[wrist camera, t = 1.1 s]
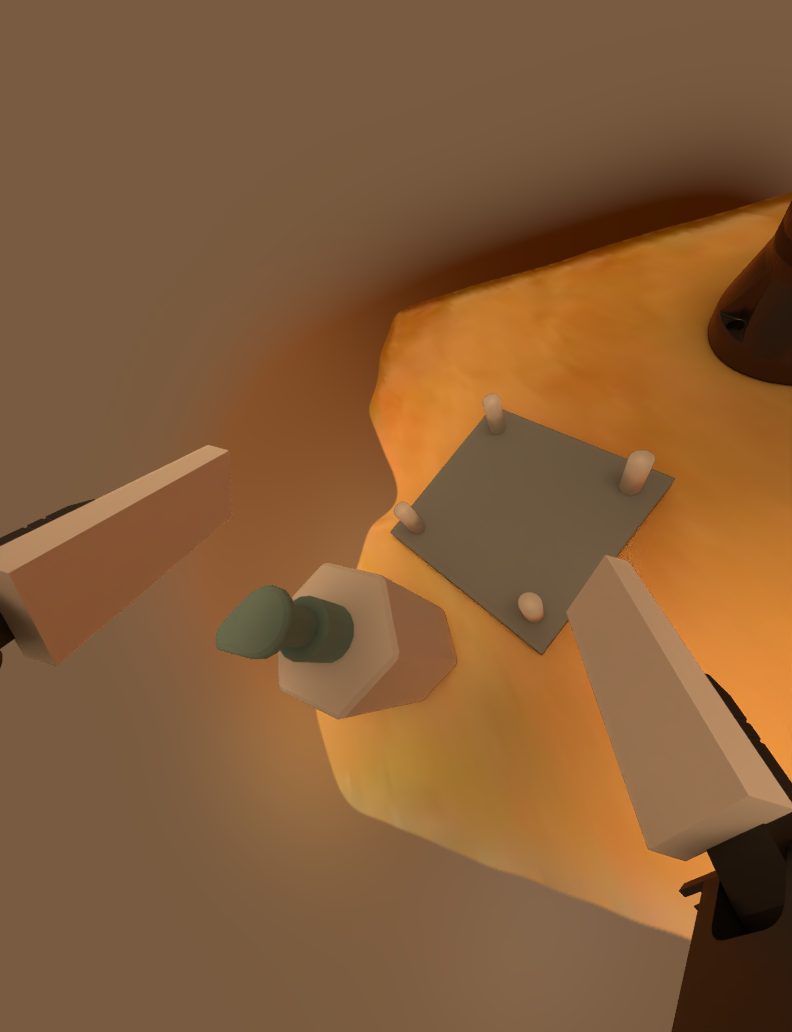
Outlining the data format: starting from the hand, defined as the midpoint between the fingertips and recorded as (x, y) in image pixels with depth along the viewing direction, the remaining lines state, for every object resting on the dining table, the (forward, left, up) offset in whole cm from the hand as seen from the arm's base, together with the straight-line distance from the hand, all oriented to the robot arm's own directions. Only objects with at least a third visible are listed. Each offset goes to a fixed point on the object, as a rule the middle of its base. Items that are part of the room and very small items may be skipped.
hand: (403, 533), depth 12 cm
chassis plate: (-10, -6, -26) cm, 28 cm away
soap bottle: (+8, -6, -26) cm, 28 cm away
